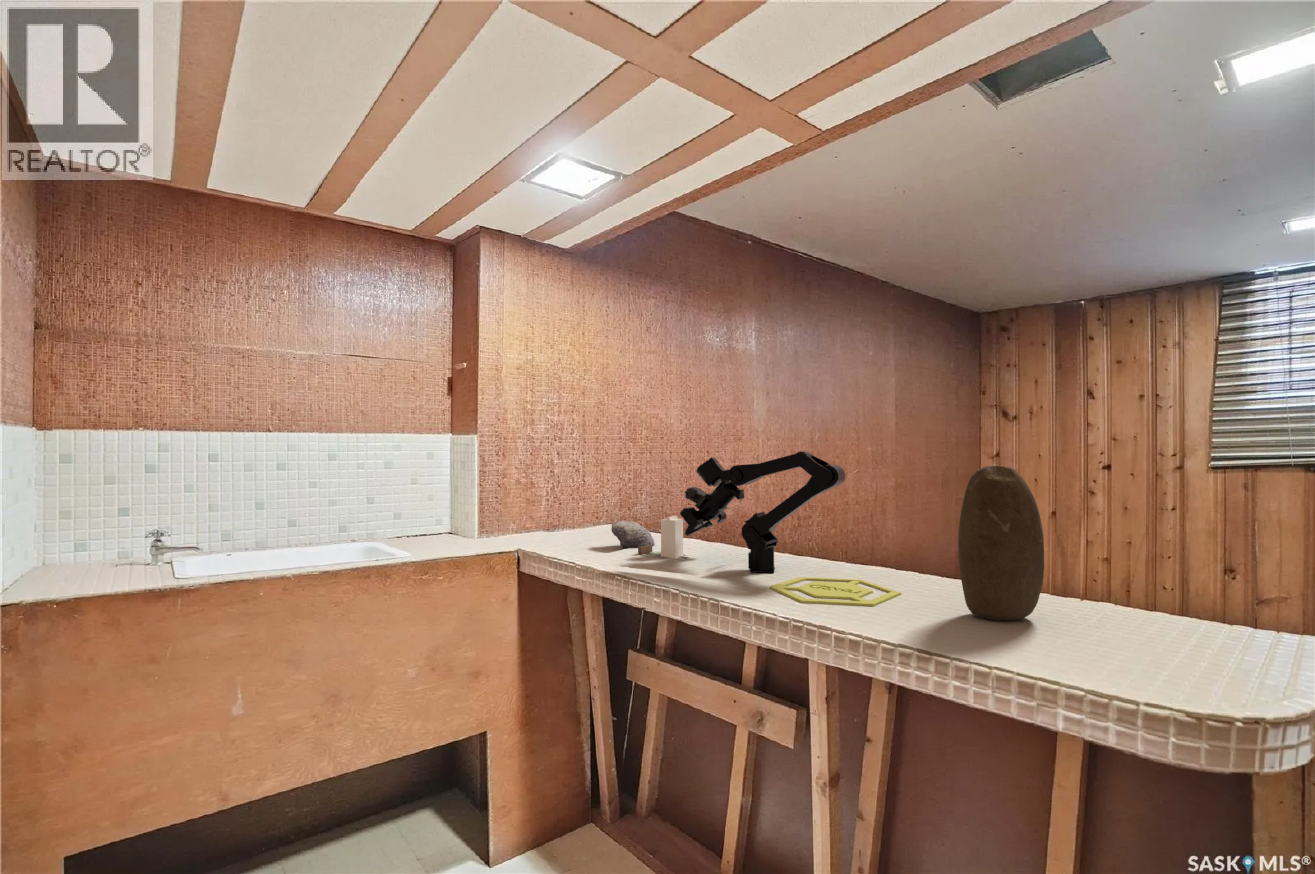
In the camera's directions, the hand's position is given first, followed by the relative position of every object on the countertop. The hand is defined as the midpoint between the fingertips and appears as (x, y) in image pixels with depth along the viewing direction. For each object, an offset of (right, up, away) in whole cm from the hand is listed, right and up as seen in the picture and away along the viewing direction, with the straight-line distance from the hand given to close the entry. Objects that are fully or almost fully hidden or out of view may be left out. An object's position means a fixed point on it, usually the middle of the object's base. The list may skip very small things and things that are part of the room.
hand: (686, 534), depth 186 cm
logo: (+33, -8, -38) cm, 51 cm away
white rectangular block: (-4, -7, +3) cm, 9 cm away
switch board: (-6, -8, +4) cm, 11 cm away
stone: (+59, -7, -61) cm, 86 cm away
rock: (-17, -9, +26) cm, 32 cm away
